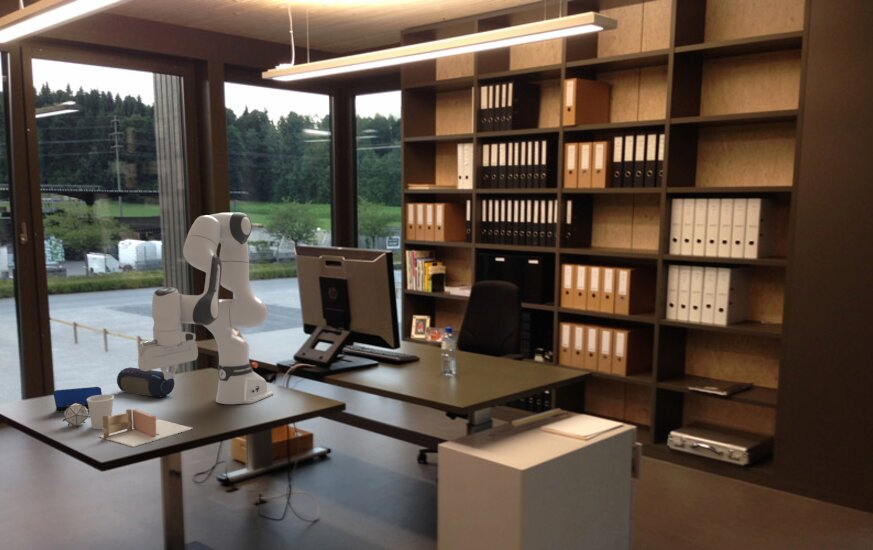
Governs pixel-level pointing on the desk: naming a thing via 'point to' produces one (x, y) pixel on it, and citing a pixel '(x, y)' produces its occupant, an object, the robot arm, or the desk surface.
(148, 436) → the card
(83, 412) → the game die
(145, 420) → the fence gate
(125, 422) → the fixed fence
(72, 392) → the handheld game console
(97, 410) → the dixie cup
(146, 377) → the portable speaker
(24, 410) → the desk surface
